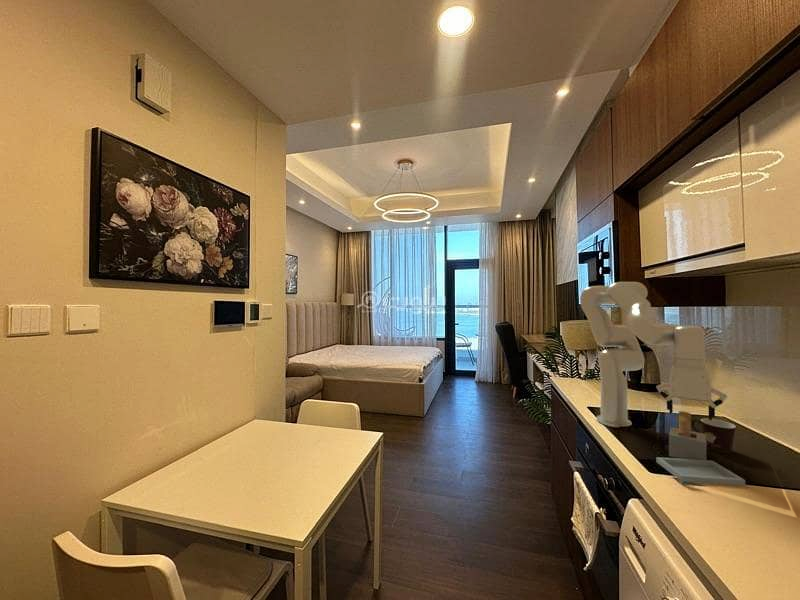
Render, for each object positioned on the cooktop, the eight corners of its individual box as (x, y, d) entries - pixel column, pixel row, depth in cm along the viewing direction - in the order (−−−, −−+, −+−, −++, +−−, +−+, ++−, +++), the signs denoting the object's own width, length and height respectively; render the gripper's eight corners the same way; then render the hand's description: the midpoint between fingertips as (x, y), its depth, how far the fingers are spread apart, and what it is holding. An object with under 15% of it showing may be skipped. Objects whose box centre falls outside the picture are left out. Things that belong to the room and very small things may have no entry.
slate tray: (656, 465, 103) (656, 457, 103) (712, 468, 101) (712, 460, 101) (681, 484, 92) (681, 476, 92) (745, 489, 90) (745, 480, 90)
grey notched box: (668, 458, 107) (669, 434, 107) (670, 449, 113) (670, 426, 113) (706, 468, 101) (706, 443, 101) (705, 458, 107) (705, 434, 107)
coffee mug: (742, 459, 107) (743, 429, 107) (712, 456, 108) (712, 427, 108) (716, 443, 118) (716, 416, 118) (688, 441, 120) (689, 414, 120)
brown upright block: (678, 454, 107) (678, 412, 107) (678, 451, 110) (678, 410, 110) (690, 457, 105) (690, 415, 105) (690, 454, 108) (690, 412, 108)
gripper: (655, 361, 110) (655, 412, 109) (727, 368, 98) (728, 425, 98) (657, 359, 115) (657, 407, 115) (725, 365, 104) (726, 418, 103)
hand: (690, 415), depth 106 cm, fingers open, 9 cm apart
